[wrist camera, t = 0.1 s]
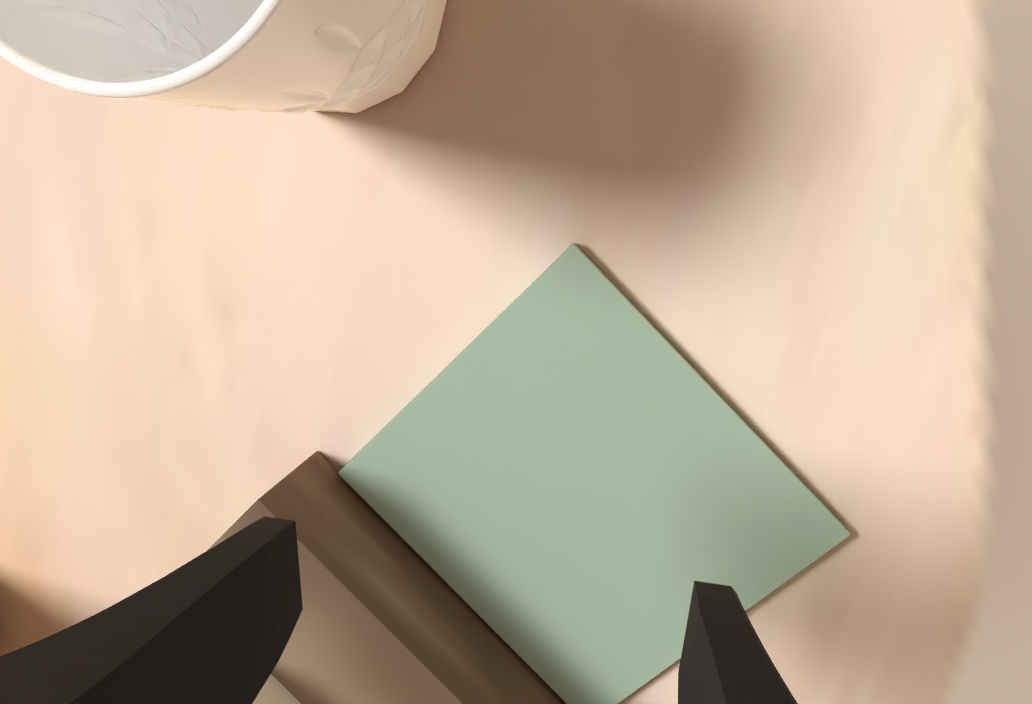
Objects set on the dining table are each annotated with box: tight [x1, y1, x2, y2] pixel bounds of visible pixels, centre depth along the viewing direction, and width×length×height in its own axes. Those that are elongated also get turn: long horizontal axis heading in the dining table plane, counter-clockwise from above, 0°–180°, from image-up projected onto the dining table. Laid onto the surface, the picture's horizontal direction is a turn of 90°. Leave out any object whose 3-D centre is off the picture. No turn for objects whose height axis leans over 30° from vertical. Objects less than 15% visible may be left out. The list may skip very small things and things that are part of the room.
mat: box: [338, 243, 851, 704], centre depth 23 cm, size 11×12×1 cm
